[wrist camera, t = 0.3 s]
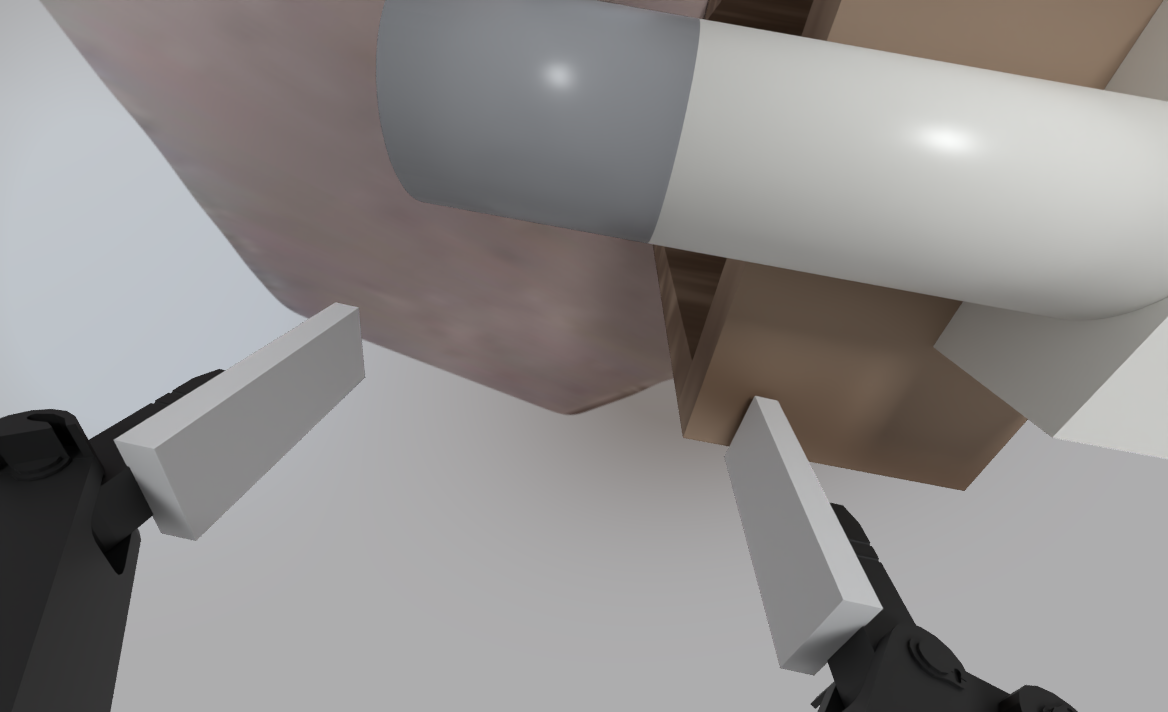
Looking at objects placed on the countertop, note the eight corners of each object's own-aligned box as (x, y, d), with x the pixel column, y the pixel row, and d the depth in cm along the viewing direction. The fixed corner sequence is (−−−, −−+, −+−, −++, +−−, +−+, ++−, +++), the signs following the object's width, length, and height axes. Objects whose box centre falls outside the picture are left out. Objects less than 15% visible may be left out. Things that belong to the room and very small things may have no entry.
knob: (462, 259, 12) (395, 314, 9) (464, -129, 8) (344, -307, 5) (1069, 372, 12) (1244, 473, 9) (1374, 28, 8) (1931, -40, 5)
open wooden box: (711, -10, 30) (1043, -556, 6) (849, 15, 30) (1788, -439, 6) (652, 239, 39) (683, 437, 15) (757, 258, 39) (964, 491, 15)
